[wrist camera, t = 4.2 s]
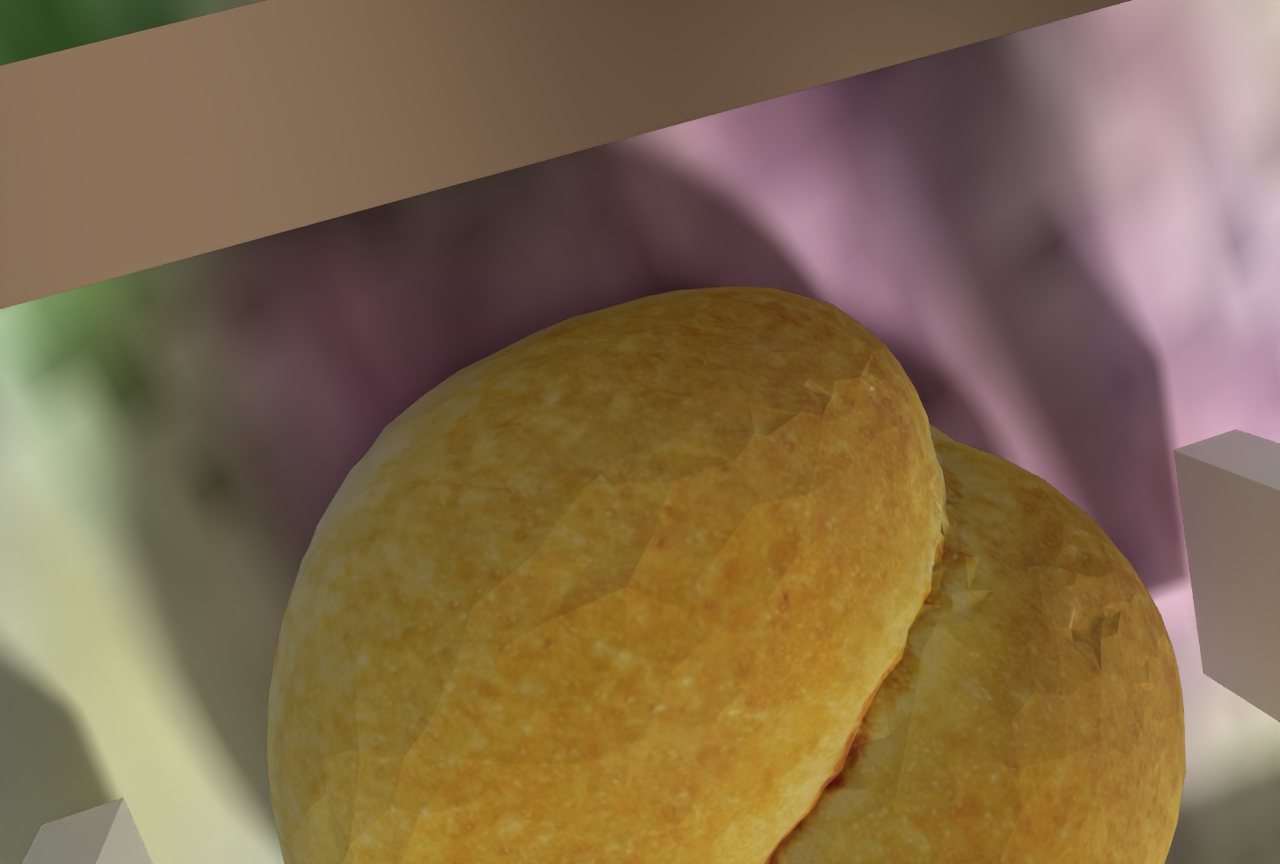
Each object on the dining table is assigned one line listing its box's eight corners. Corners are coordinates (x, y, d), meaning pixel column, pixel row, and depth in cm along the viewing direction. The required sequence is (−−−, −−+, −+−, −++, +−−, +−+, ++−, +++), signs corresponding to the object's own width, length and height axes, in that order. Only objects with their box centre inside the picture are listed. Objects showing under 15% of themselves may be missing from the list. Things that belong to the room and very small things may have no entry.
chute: (113, 1520, 13) (53, 1815, 11) (-581, 256, 9) (-915, 291, 7) (1452, 969, 16) (1640, 1113, 13) (1364, -233, 12) (1611, -331, 9)
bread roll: (593, 125, 11) (694, 108, 7) (1179, 612, 14) (1476, 785, 10) (92, 789, 12) (-54, 1094, 8) (752, 1138, 14) (881, 1492, 11)
